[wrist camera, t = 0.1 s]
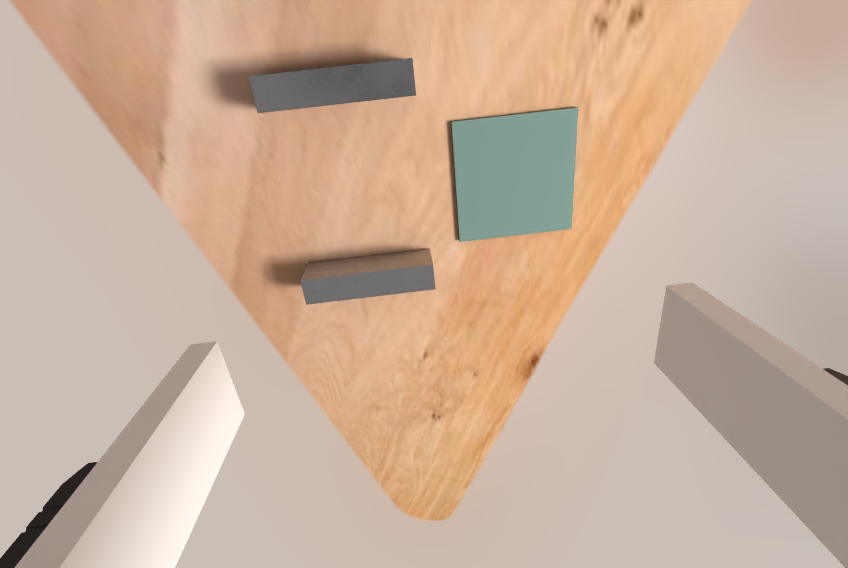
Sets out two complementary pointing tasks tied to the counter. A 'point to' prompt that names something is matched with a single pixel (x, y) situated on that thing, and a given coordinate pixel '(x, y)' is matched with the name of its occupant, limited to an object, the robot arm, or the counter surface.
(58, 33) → the counter surface
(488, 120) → the mat
